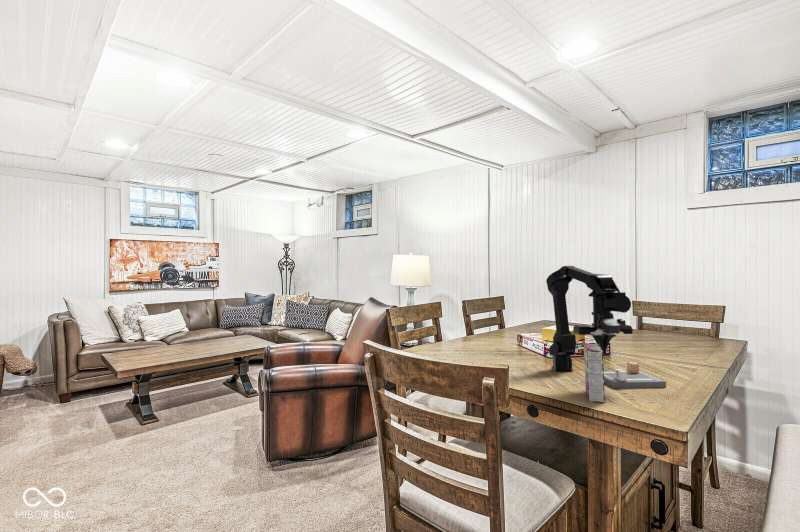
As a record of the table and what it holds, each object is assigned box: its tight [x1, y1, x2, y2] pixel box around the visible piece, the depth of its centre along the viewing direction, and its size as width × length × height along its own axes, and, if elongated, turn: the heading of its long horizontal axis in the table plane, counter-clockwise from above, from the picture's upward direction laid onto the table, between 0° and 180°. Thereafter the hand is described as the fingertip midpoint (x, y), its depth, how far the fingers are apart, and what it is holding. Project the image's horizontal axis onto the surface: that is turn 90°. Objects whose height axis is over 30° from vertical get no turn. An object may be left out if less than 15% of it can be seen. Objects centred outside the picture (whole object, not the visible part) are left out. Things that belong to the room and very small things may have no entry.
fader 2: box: [626, 361, 640, 373], centre depth 152 cm, size 2×4×3 cm
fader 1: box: [614, 368, 627, 381], centre depth 142 cm, size 2×4×3 cm
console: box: [604, 369, 667, 389], centre depth 147 cm, size 18×16×2 cm
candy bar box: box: [583, 343, 606, 404], centre depth 131 cm, size 11×5×16 cm, turn 160°
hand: (603, 353), depth 143 cm, fingers closed
